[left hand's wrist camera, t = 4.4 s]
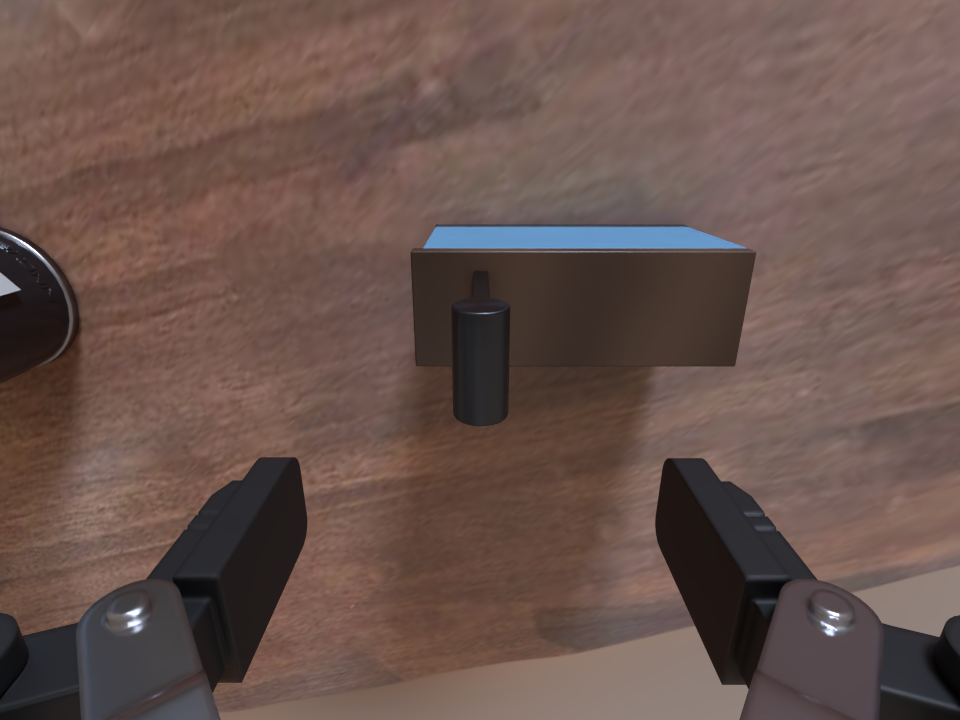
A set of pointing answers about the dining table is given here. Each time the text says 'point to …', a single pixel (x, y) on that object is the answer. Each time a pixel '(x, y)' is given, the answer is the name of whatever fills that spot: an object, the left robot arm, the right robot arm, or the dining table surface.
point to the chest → (572, 237)
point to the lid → (572, 312)
